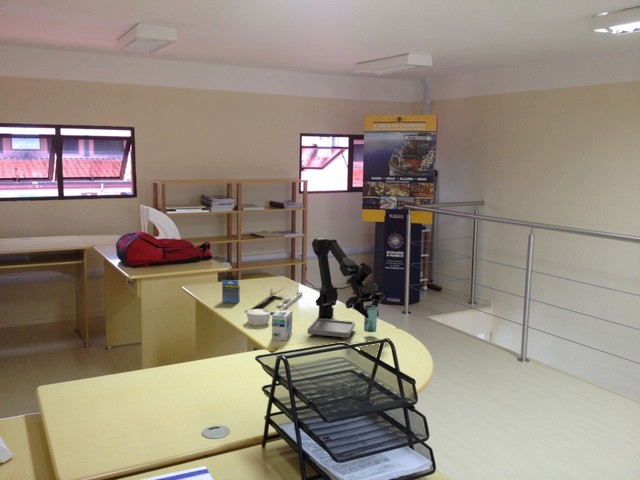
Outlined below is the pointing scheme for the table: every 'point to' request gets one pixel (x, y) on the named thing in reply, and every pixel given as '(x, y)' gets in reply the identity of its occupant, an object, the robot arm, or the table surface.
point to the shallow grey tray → (331, 328)
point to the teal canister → (370, 318)
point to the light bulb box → (281, 324)
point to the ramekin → (258, 316)
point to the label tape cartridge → (230, 291)
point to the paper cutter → (285, 300)
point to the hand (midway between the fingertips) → (372, 316)
